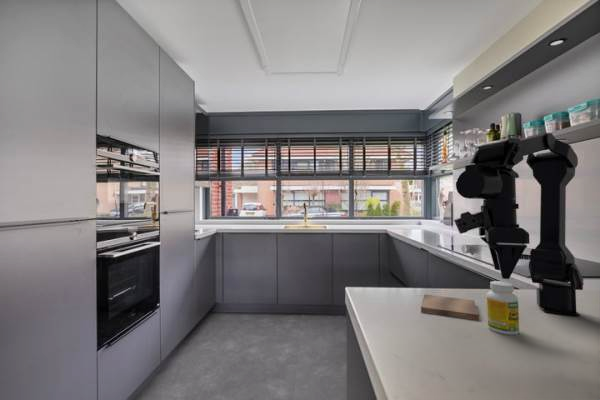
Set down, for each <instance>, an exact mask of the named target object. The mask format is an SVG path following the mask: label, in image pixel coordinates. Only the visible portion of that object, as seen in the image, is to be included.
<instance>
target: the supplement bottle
mask: <svg viewBox="0 0 600 400" xmlns="http://www.w3.org/2000/svg"><path fill="white" fill-rule="evenodd" d="M514 285H515V284H513V283H510V282H508V281H498V280H493V281H490V285H489V288H490V291H488V292H487V294H486V305H487V306H486V308H487V310H486V311H487V327H488V328H489V329H490V330H491V331H493V332H495V333H498V334H502V335H507V336H508V335H509V336H510V335H512V336H514V335H518V334H519V332H520V321H519V298H518V296H517V295H516V294H514V293H513V292H514V291H515V287H514Z"/></svg>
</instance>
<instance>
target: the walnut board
mask: <svg viewBox="0 0 600 400" xmlns="http://www.w3.org/2000/svg"><path fill="white" fill-rule="evenodd" d="M420 312H421V313H425V312H429V313H428V314H432V313H435V314H434V315H439V314H440V316H448V317H455V318H461V319H462V318H463V319H467V320H475V321H479V312H478V309H477V306H476V302H475V300H474V299H468V298H460V297H459V298H458V297H449V296H442V295H441V296H440V295H433V294H424V295H423V298H422V300H421V305H420Z"/></svg>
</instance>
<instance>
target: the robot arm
mask: <svg viewBox="0 0 600 400" xmlns="http://www.w3.org/2000/svg"><path fill="white" fill-rule="evenodd" d="M547 150H549V151H548V152H542V151H547ZM538 152H540V153H538ZM541 152H542V153H541ZM535 153H537V154H536V155H535ZM526 156H527V158H526V161H525V163H526V164H527V165H528V167H529V168H530V169H531V170H532V176H533V178H534V179H535V181H536V182H537V183H538V184H539V185H540V207H539V208H540V213H539V214H540V216H539V217H540V219H539V221H540V222H539V223H540V224H539V243H538V245H536V246H535V248H532V249H530V251H529V256H530V257H529V259H530V260H529V262H528V270H529V274H530V279H531V282H532V283H533V284H538V287H537V288H536V305H537V306H539V308H540V309H541V310H542V311H543V313H544V312H546V313H551V314H559V315H567V316H573V317H574V316H575V317H579V316H580V315H581V314H580V312H578V311H577V297H576V296H577V294H576V293H577V292H576V291H583V290H584V284H585V283H584V278H583V276H582V273H581V272H580V270H579V268H578V266H577V264H575V263H576V262H575V256H574V255H573V253H572V252H571V251H570V249H569V248H568V247H567V245H566V214H567V213H566V205H567V203H566V201H567V199H566V198H567V197H566V196H567V194H566V193H567V186H568V184H570V182H571V181H572V180H573V179H574V178H575V176H576V175H575V174H576V168H578V163H579V161H578V160H579V157H578V155H577V154H576V152H575V149H573V147H572V146H571V145H570V144H569V143H566V142H564V141H561V140H559V139H556V137H555V136H554V134H553V133H551V132H544V133H537V134H532V135H528V136H527V137H524V138H519V137H507V138H503V139H502V138H501V139H498V140H492V141H487V142H481V143H480V144H479V145H478V146H477V149H476V151H475V153H474V155H473V157H472V159H471V161H470V164H466V165H464V169H465V170H464V171H463V172H462V173H460V174H459V176H458V177H457V179H456V182H455V188H456V191H457V193H458V194H459V195H460V196H461V197H463V198H465V199H470V200H471V199H472V200H473V199H474V200H475V199H476V200H482V205H481V206H480V211H477V212H474V213H471V212H470V211H465V212H462V213H460V215H459V217H458V218H455V219H454V221H453V222H454V224H455V226H456V228H457V231H458V233H459V234H460V235H462V234H465V233H467V232H469V231H472V230H475V229H478V236H480V237H479V238H480V239H481V241H483V242H484V243H486V245H487V246H488V249H489V253H490V255H491V260H492V263H493V267H494V270H496V271H500V275H501V278H502V279H505V280H509V279H510V278H511V277H512V274H513V272H514V271H515V268H516V266H517V264H518V263H519V260H520V258H521V256H522V255H523V253H524V251H525V249H527V248H528V244H529V245H530V233H529V232H528V231H527V230H526V229H524V228H523V227H520V223H518V220H517V219H518V218H517V210H519V209H520V208H519V203H517V193H516V192H517V190H516V189H517V187H516V179H518V178H520V175H519V173H518V172H517V171H515V170H514V169H513V168H514V167H515V166H516V165H518V164H519V163H521V162H522V161H524V157H526Z"/></svg>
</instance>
